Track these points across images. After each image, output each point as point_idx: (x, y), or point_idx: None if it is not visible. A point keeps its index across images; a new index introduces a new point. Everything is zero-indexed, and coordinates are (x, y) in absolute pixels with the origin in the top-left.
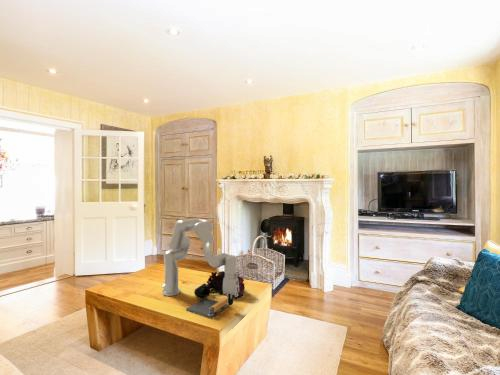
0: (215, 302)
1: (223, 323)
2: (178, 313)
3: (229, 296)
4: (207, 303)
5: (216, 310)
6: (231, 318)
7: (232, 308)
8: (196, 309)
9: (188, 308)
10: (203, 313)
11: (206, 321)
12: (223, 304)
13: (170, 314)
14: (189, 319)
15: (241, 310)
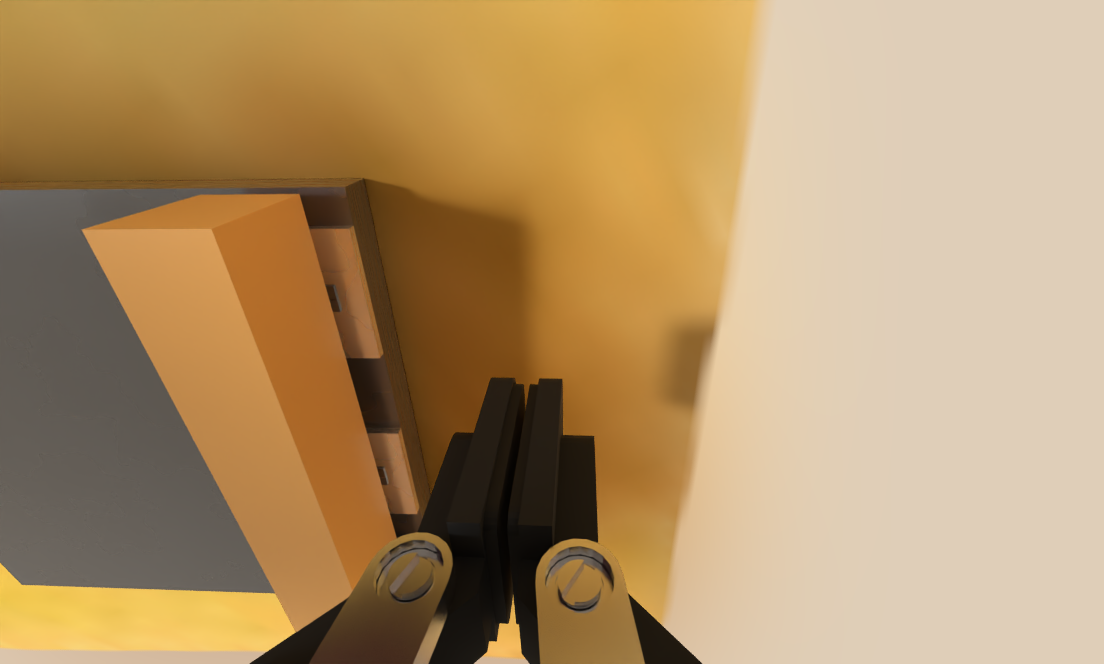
0: (55, 261)
1: (635, 590)
2: (71, 618)
3: (453, 659)
4: (12, 371)
5: (392, 540)
6: (675, 488)
7: (507, 221)
8: (125, 559)
9: (32, 575)
10: None
11: None
12: (331, 376)
13: (47, 648)
14: (270, 645)
15: (735, 197)
